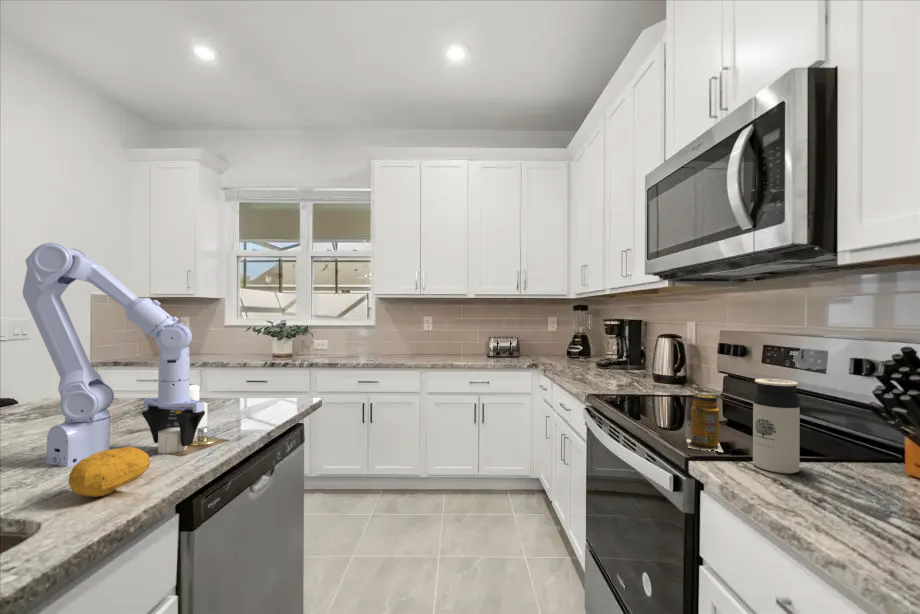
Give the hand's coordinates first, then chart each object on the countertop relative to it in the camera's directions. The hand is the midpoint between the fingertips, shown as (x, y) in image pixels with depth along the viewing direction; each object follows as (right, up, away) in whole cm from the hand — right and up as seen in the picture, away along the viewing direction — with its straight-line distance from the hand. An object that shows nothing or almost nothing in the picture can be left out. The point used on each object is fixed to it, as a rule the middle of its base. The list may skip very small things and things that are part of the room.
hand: (173, 443), depth 100 cm
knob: (+3, -1, +6) cm, 7 cm away
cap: (0, -1, 0) cm, 1 cm away
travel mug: (+127, -4, -3) cm, 127 cm away
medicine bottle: (-9, -3, +19) cm, 21 cm away
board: (+2, -3, +3) cm, 5 cm away
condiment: (+120, -5, +12) cm, 121 cm away
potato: (+1, -3, -20) cm, 20 cm away
